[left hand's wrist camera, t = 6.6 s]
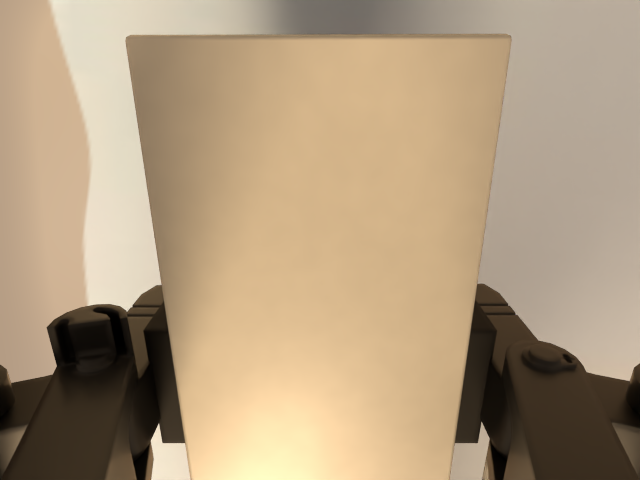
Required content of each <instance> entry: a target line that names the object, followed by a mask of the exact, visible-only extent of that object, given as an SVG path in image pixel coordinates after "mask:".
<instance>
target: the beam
mask: <svg viewBox="0 0 640 480" xmlns="http://www.w3.org/2000/svg"><path fill="white" fill-rule="evenodd" d="M510 47H511V36H510V35H508V34H312V35H130V36H128V37H126V48H127V54H128V61H129V68H130V75H131V81H132V88H133V95H134V102H135V108H136V115H137V122H138V128H139V135H140V142H141V149H142V155H143V162H144V169H145V176H146V182H147V189H148V196H149V202H150V209H151V216H152V223H153V229H154V236H155V243H156V250H157V256H158V263H159V270H160V276H161V283H162V290H163V297H164V303H165V310H166V317H167V324H168V330H169V337H170V344H171V350H172V357H173V364H174V371H175V377H176V384H177V391H178V398H179V404H180V411H181V418H182V424H183V431H184V438H185V445H186V451H187V458H188V465H189V472H190V478H191V480H449V479H450V472H451V465H452V458H453V451H454V444H455V437H456V430H457V423H458V415H459V408H460V401H461V394H462V387H463V380H464V373H465V366H466V359H467V352H468V345H469V338H470V331H471V323H472V316H473V309H474V302H475V295H476V288H477V281H478V274H479V267H480V260H481V253H482V246H483V239H484V231H485V224H486V217H487V210H488V203H489V196H490V189H491V182H492V175H493V168H494V161H495V154H496V146H497V139H498V132H499V125H500V118H501V111H502V104H503V97H504V90H505V83H506V76H507V69H508V62H509V54H510Z"/></svg>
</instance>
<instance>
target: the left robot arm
mask: <svg viewBox="0 0 640 480" xmlns="http://www.w3.org/2000/svg"><path fill="white" fill-rule="evenodd" d="M47 330H48V334H49V338H50V342H51V345H52V349H53V353H54V357H55V360H56V364H57V367H56V369H55V371H54V373H53V375H49V376H45V377H40V378H35V379H30V380H25V381H20V382H14V383H11V381H10V378H9V375H8V372H7V369H5V368H4V367H3V366H1V365H0V480H151V476H152V468H153V460H154V458H153V452H152V446H151V439H152V437H153V434H154V432H155V430H156V428H157V426H158V424H159V425H160V431H161V436H162V442H163V443H185V438H184V431H183V424H182V418H181V411H180V404H179V398H178V391H177V384H176V377H175V371H174V364H173V357H172V350H171V344H170V337H169V330H168V324H167V317H166V310H165V303H164V297H163V290H162V285H156V286H155V287H153V288H152V289H150V290H148V291H147V292H145V293H143V294H142V295H141V296H140V297H139V298H138V299H137V301H136V302H135V303H134V304H133V307H132V308H130V309H129V310H128V312H127V311H126V310H124V309H123V308H122V307H120V306H116V305H111V304H98V305H91V306H86V307H81V308H78V309H75V310H73V311H70V312H67V313H65V314H63V315H62V316H60V317H58V318H56V319H55V320H53V321H52V323H51V324H50V325H49V326H48V327H47ZM481 421H482V423H483V425H484V427H485V429H486V431H487V434H488V436H489V438H490V440H489V446H488V451H487V457H486V462H485V467H484V473H483V478H482V480H640V364H638V365H637V366H636V367H634V370H633V373H632V376H631V379H630V381H626V380H620V379H615V378H610V377H605V376H600V375H595V374H591V373H587V372H586V371H585V368H584V366H583V365H582V364H581V362H580V361H579V360H578V359H577V358H576V357H575V356H574V355H572V354H571V353H569V352H568V351H566V350H565V349H563V348H560V347H558V346H556V345H553V344H551V343H546V342H542V341H538V340H537V338H536V337H535V336H534V335H533V334H532V332H531V331H530V330H529V329H528V328H527V326H526V325H525V324H524V323H523V321H522V320H521V319H520V318H519V317H518V315H515V312H514V311H513V309H512V308H511V307H510V306H508V303H507V302H506V301H505V300H504V298H503V297H502V296H501V295H500V294H499V293H498V292H496V291H495V290H493V289H491V288H490V287H488V286H486V285H485V284H477V288H476V295H475V302H474V309H473V316H472V323H471V331H470V338H469V345H468V352H467V359H466V366H465V373H464V380H463V387H462V394H461V401H460V408H459V415H458V423H457V430H456V437H455V443H478V438H479V432H480V427H481Z"/></svg>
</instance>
